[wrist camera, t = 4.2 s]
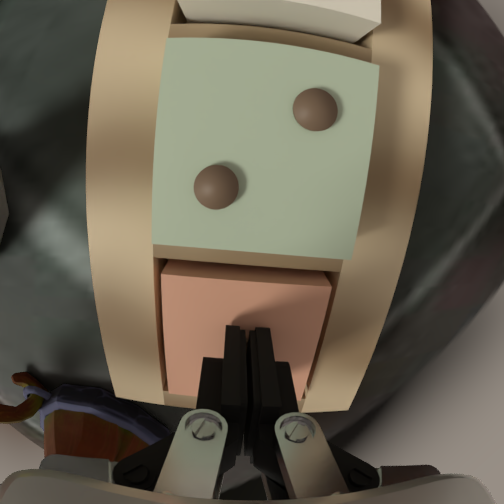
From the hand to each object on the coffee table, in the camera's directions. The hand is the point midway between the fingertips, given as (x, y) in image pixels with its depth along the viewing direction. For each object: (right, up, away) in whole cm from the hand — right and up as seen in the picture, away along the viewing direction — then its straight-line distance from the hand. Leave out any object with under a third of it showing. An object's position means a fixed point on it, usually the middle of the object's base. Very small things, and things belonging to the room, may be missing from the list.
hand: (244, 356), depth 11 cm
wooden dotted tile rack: (+1, +9, +1) cm, 9 cm away
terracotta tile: (0, +1, +2) cm, 3 cm away
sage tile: (+1, +8, -1) cm, 8 cm away
